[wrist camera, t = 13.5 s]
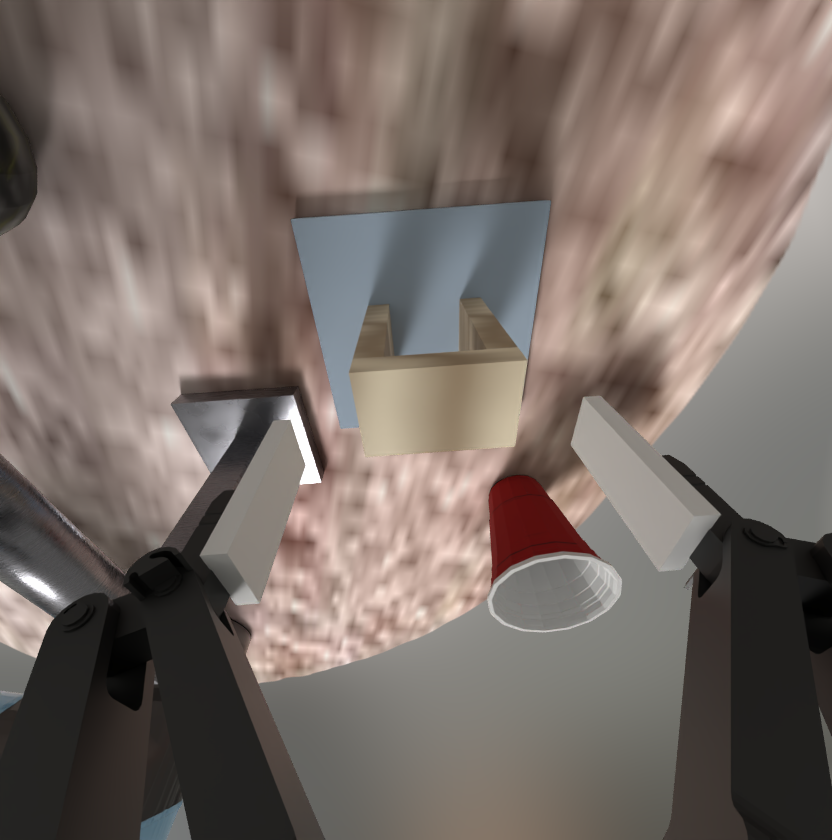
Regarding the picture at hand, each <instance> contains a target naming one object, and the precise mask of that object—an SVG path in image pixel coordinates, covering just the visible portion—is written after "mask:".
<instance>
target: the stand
mask: <svg viewBox="0 0 832 840" xmlns="http://www.w3.org/2000/svg"><path fill="white" fill-rule="evenodd" d="M171 406H172V407H173V409H174V411H175V413H176V414H177V416H178V418H179V419H180V421H181V423H182V425H183V426H184V428H185V430H186V432H187V433H188V435H189V437H190V438H191V440H192V442H193V444H194V445H195V447H196V449H197V451H198V452H199V454H200V456H201V457H202V459H203V461H204V463H205V464H206V466H207V468H208V470H209V471H210V473H211V474H210V475H209V477H208V478H207V480H206V481H205V483H204V484H203V486H202V487H201V489H200V490H199V492H198V493H197V495H196V496H195V498H194V499H193V501H192V502H191V504H190V505H189V507H188V508H187V510H186V511H185V513H184V514H183V516H182V517H181V519H180V520H179V522H178V523H177V525H176V526H175V528H174V529H173V531H172V532H171V533H170V535H169V536H168V538H167V539H166V541H165V542H164V544H163V545H162V547H161V548H163V547H173V548H176V549H177V550H178V551H179V552H180V553H181V552H182V550H183V549H184V547H185V545H186V544H187V542H188V540H189V539H190V537H191V536H192V534H193V532H194V531H195V529H196V527H197V526H199V522H200V521H201V519H202V517H203V516H205V512H206V511H207V509H208V507H209V506H210V504H211V502H212V501H213V500H214V499H215V498H216V497H217V496H219V495H220V494H221V493H222V492H223V491H225V490H236V488H237V486H238V484H239V483H240V481H241V479H242V477H243V475H244V473H245V472H246V470H247V468H248V466H249V464H250V463H251V461H252V459H253V457H254V455H255V453H256V452H257V450H258V448H259V446H260V444H261V442H262V441H263V439H264V437H265V435H266V433H267V431H268V430H269V428H270V426H271V424H272V422H273V421H276V420H289V419H291V422H292V425H293V428H294V431H295V434H296V437H297V440H298V443H299V446H300V449H301V452H302V455H303V458H304V461H305V464H306V467H305V470H304V473H303V476H302V479H301V482H300V484H308V483H321V481H322V478H323V474H324V470H323V467H322V463H321V460H320V457H319V454H318V450H317V447H316V444H315V440H314V437H313V434H312V430H311V427H310V424H309V421H308V417H307V414H306V411H305V407H304V404H303V401H302V398H301V394H300V391H299V388H298V386H296V387H282V388H268V389H254V390H240V391H226V392H212V393H198V394H184V395H180V396H179V397H178V398H177V399H176V400H175V401H173V402H172V403H171ZM125 575H126V574H125V573H124V572H123V571H122V570H121V569H120V568H118V567H117V566H116V565H115V564H114V563H113V562H112V561H111V560H110V559H109V558H108V557H107V556H106V555H105V554H104V553H103V552H102V551H101V550H100V549H99V548H98V547H97V546H96V545H95V544H94V543H93V542H91V541H90V540H89V539H88V538H87V537H86V536H85V535H84V534H83V533H82V532H81V531H80V530H79V529H78V528H77V527H76V526H75V525H74V524H73V523H72V522H71V521H70V520H69V519H68V518H67V517H66V516H64V515H63V514H62V513H61V512H60V511H59V510H58V509H57V508H56V507H55V506H54V505H53V504H52V503H51V502H50V501H49V500H48V499H47V498H46V497H45V496H44V495H43V494H42V493H41V492H40V491H39V490H37V489H36V488H35V487H34V486H33V485H32V484H31V483H30V482H29V481H28V480H27V479H26V478H25V477H24V476H23V475H22V474H21V473H20V472H19V471H18V470H17V469H16V468H15V467H14V466H13V465H12V464H10V463H9V462H8V461H7V460H6V459H5V458H4V457H3V456H2V455H1V454H0V581H1V582H2V583H4V584H5V585H7V586H8V587H10V588H11V589H13V590H14V591H16V592H17V593H19V594H20V595H22V596H23V597H24V598H26V599H27V600H29V601H30V602H32V603H33V604H35V605H36V606H38V607H39V608H41V609H42V610H44V611H45V612H47V613H48V614H49V615H51V616H52V617H54V618H55V617H56V616H57V615H58V614H59V613H60V612H61V611H62V610H63V609H64V608H66V607H67V606H68V605H70V604H71V603H72V602H74V601H76V600H78V599H80V598H81V597H83V596H86V595H89V594H92V593H104V594H105V595H106V596H108V597H109V598H110V599H111V600H113V599H116V598H119V597H122V596H125V595H127V594H130V593H131V592H130V591H129V590H128V589H127V588H126V587H125V586H124V585H123V583H124V577H125ZM154 684H158V682H157V677H156V672H155V678H154Z"/></svg>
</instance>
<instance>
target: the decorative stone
mask: <svg viewBox="0 0 832 840" xmlns="http://www.w3.org/2000/svg"><path fill="white" fill-rule="evenodd" d="M36 195H37V166H36V163H35V160H34V156H33V153H32V150H31V147H30V144H29V141H28V138H27V136H26V134H25V132H24V130H23V129H22V127H21V125H20V123H19V122H18V120H17V118H16V116H15V115H14V113H13V111H12V109H11V108H10V106H9V104H8V103H7V102H6V100H5V99H4V98H3V97H2V95H1V94H0V236H1V235H3V234H4V233H6V232H8V231H9V230H11V229H13V228H14V227H16V226H18V225H19V224H20V223H21V222H22V221H23V220H24V219H25V218H26V216H27V214H28V212H29V210H30V208H31V206H32V204H33V202H34V200H35V198H36Z"/></svg>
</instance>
